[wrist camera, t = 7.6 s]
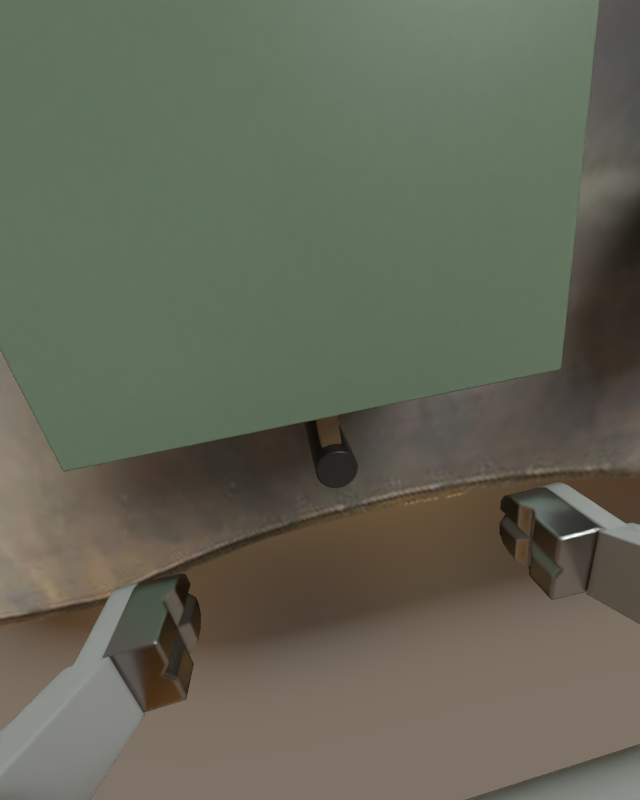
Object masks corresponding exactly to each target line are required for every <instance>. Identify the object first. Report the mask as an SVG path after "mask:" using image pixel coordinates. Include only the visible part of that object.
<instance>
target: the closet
mask: <svg viewBox="0 0 640 800" xmlns="http://www.w3.org/2000/svg"><path fill="white" fill-rule="evenodd" d="M599 2H600V0H0V350H1V352H2V354H3V356H4V358H5V360H6V362H7V364H8V366H9V368H10V370H11V371H12V373H13V375H14V377H15V379H16V381H17V383H18V385H19V387H20V389H21V391H22V393H23V395H24V397H25V398H26V400H27V402H28V404H29V406H30V408H31V410H32V412H33V414H34V416H35V418H36V420H37V422H38V424H39V425H40V427H41V429H42V431H43V433H44V435H45V437H46V439H47V441H48V443H49V445H50V447H51V449H52V451H53V453H54V454H55V456H56V458H57V460H58V462H59V464H60V466H61V468H62V470H63V471H70V470H74V469H79V468H84V467H89V466H94V465H99V464H104V463H108V462H113V461H118V460H123V459H128V458H133V457H138V456H143V455H147V454H152V453H157V452H162V451H167V450H172V449H177V448H181V447H186V446H191V445H196V444H201V443H206V442H211V441H215V440H220V439H225V438H230V437H235V436H240V435H245V434H249V433H254V432H259V431H264V430H269V429H274V428H279V427H283V426H288V425H293V424H298V423H303V422H308V421H313V420H317V419H322V418H327V417H332V416H337V415H342V414H347V413H352V412H356V411H361V410H366V409H371V408H376V407H381V406H386V405H390V404H395V403H400V402H405V401H410V400H415V399H420V398H424V397H429V396H434V395H439V394H444V393H449V392H454V391H458V390H463V389H468V388H473V387H478V386H483V385H488V384H492V383H497V382H502V381H507V380H512V379H517V378H522V377H526V376H531V375H536V374H541V373H546V372H551V371H556V370H560V369H561V362H562V352H563V343H564V333H565V324H566V314H567V305H568V295H569V286H570V277H571V267H572V258H573V248H574V239H575V229H576V220H577V210H578V201H579V191H580V182H581V172H582V163H583V154H584V144H585V135H586V125H587V116H588V106H589V97H590V87H591V78H592V68H593V59H594V49H595V40H596V31H597V21H598V12H599Z"/></svg>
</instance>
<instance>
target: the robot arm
mask: <svg viewBox="0 0 640 800" xmlns="http://www.w3.org/2000/svg"><path fill="white" fill-rule="evenodd" d="M500 509H501V510H502V511H503V512H504V513H505V516H504V517H503V518H502V520H501V522H500V535H501V538H502V541H503V544H504V545H505V547H506V549H507V550H508V552H509V553H510V554H511V555H512V557H513V558H514V559H515V560H516V561H518V562H520V563H523V564H525V565H527V566H528V568H529V575H530V577H531V578H532V579H533V580H534V581H535V582H536V583H537V584H538V586H539V587H540V588H541V589H542V590H543V591H544V592H545V593H546V594H547V595H548V596H549V598H550V599H551V600H555V599H559V598H563V597H568V596H572V595H576V594H580V593H584V592H587V595H589V596H591V597H593V598H594V599H596V600H598V601H600V602H601V603H603V604H605V605H607V606H609V607H610V608H612V609H614V610H616V611H617V612H619V613H621V614H623V615H624V616H626V617H628V618H630V619H631V620H633V621H635V622H637V623H639V624H640V525H638V524H635V523H629V524H625V523H624V522H622V521H621V520H619V519H618V518H616V517H615V516H613V515H612V514H610V513H609V512H607V511H606V510H604V509H602V508H601V507H600V506H598V505H597V504H595V503H594V502H592V501H591V500H589V499H587V498H586V497H585V496H583V495H581V494H580V493H578V492H577V491H575V490H574V489H572V488H571V487H569V486H568V485H566V484H563V483H560V482H557V483H554V484H550V485H546V486H542V487H539V488H534V489H530V490H526V491H522V492H518V493H514V494H510V495H506V496H504V497H503V498H502V500H501V507H500ZM189 587H190V582H189V580H188V578H187V576H186V574H177V575H173V576H168V577H163V578H159V579H154V580H149V581H144V582H140V583H138V584H133V585H128V586H123V587H118V588H117V589H116V590H114V591H113V592H112V593H111V595H110V596H109V598H108V600H107V602H106V604H105V606H104V608H103V610H102V612H101V613H100V615H99V617H98V619H97V621H96V623H95V625H94V627H93V629H92V631H91V632H90V635H89V636H88V638H87V640H86V642H85V644H84V646H83V648H82V650H81V652H80V653H79V655H78V657H77V659H76V661H75V663H74V665H73V666H70V667H67V668H65V669H64V670H62V671H61V673H59V675H57V677H55V678H54V679H53V680H52V681H51V682H50V683H49V684H48V685H47V686H46V687H45V688H44V689H43V690H42V691H41V692H40V693H39V694H38V695H37V696H36V697H35V698H34V699H33V700H32V701H31V702H30V703H29V704H28V705H27V706H26V707H25V708H24V709H23V710H22V711H21V712H20V713H19V714H18V715H17V716H16V717H14V718H13V719H12V720H11V721H10V722H9V723H8V724H7V725H6V726H5V727H4V728H3V729H2V730H1V731H0V800H91V799H92V797H93V796H94V794H95V793H96V791H97V789H98V788H99V786H100V785H101V783H102V782H103V780H104V778H105V777H106V775H107V774H108V772H109V771H110V769H111V767H112V766H113V764H114V763H115V761H116V760H117V758H118V756H119V755H120V753H121V752H122V750H123V749H124V747H125V745H126V744H127V742H128V741H129V739H130V738H131V736H132V734H133V733H134V731H135V730H136V728H137V727H138V725H139V723H140V722H141V720H142V719H143V717H144V715H145V714H144V712H147V711H150V710H153V709H157V708H160V707H163V706H166V705H170V704H173V703H176V702H180V701H183V700H186V698H187V693H188V688H189V684H190V679H191V674H192V669H193V665H194V664H193V661H192V659H191V657H190V655H189V654H190V652H191V651H192V650H193V648H194V647H195V646H196V644H197V643H198V640H199V635H200V629H201V613H200V608H199V604H198V601H197V599H196V597H194V596H193V595H190V594H189V593H188V591H189ZM467 800H640V744H638V745H635V746H632V747H629V748H626V749H623V750H620V751H617V752H613V753H610V754H607V755H604V756H601V757H598V758H595V759H591V760H588V761H585V762H582V763H579V764H576V765H573V766H570V767H567V768H563V769H560V770H557V771H554V772H551V773H548V774H545V775H541V776H538V777H535V778H532V779H529V780H526V781H522V782H519V783H517V784H513V785H510V786H507V787H504V788H501V789H498V790H494V791H491V792H488V793H485V794H482V795H479V796H476V797H473V798H470V799H467Z"/></svg>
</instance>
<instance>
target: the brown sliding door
mask: <svg viewBox="0 0 640 800" xmlns="http://www.w3.org/2000/svg"><path fill="white" fill-rule="evenodd" d="M304 423H305V428H306V432H307V436H308V441H309V445H310V449H311V454H312V458H313V462H314V467H315V471H316V475H317V478H318V480H319V481H320V482H321V483H322V484H324V485H325V486H327V487H331V488H340V487H343V486H346V485H347V484H349V483H350V482H351V481H352V480H353V479H354V478H355V476H356V474H357V470H358V464H357V461H356V459H355V456H354V454H353V452H352V450H351V448H350V446H349V444H348V442H347V440H346V438H345V436H344V434H343V432H342V430H341V428H340V425H339V423H338V417H337V416H332V417H327V418H322V419H317V420H313V421H308V422H304Z"/></svg>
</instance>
